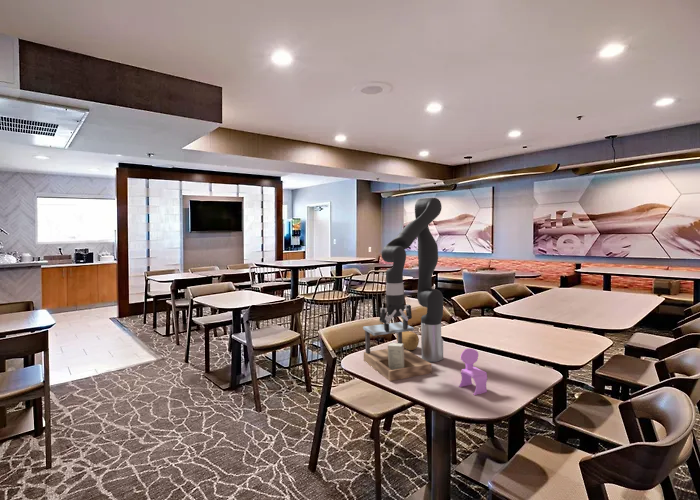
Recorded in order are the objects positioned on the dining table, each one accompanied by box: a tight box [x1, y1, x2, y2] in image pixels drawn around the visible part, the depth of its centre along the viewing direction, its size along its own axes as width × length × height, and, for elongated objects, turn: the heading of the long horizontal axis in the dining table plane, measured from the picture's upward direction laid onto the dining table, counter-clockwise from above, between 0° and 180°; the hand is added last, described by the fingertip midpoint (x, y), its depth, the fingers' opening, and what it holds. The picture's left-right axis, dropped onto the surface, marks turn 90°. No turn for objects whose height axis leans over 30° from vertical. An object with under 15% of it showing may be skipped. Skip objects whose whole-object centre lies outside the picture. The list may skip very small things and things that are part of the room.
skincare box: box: [387, 342, 405, 370], centre depth 158 cm, size 6×4×12 cm
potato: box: [396, 331, 420, 351], centre depth 190 cm, size 9×16×9 cm, turn 18°
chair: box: [458, 347, 488, 396], centre depth 140 cm, size 8×9×15 cm
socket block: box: [362, 321, 433, 382], centre depth 165 cm, size 20×26×16 cm
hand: (396, 330), depth 158 cm, fingers open, 8 cm apart
